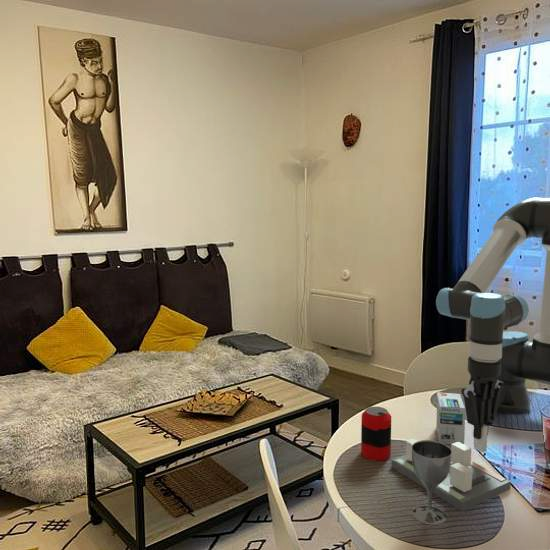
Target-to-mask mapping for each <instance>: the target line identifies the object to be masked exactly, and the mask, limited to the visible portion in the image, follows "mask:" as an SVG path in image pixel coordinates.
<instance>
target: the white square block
mask: <svg viewBox="0 0 550 550" xmlns="http://www.w3.org/2000/svg"><path fill="white" fill-rule="evenodd" d="M450 449H451V452H452V454H451V462H453V463H455V464H456V463H460V464H461V465H463V466H465V467H469V466H471V461H472V447H470V446H468V445H466V444H465V443H464V444H462V443H460V442H456V443H453V444H450Z"/></svg>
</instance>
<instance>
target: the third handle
mask: <svg viewBox="0 0 550 550" xmlns="http://www.w3.org/2000/svg"><path fill="white" fill-rule="evenodd" d="M450 484H451V485H452V486H454V487H456V488H457V489H459V490H461V491H463V492H466V491H468V490H471V488H472V470H471V469H469V468H467V467H465V466H463V465H461V464H460V463H456V464H453V465H451V466H450Z"/></svg>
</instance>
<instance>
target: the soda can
mask: <svg viewBox="0 0 550 550" xmlns="http://www.w3.org/2000/svg"><path fill="white" fill-rule="evenodd" d="M360 426H361V427H360V428H361V431H360V433H361V435H360V436H361V437H360V439H361V440H360V444H361V446H360V452H361V455H362V456H363V458H365V459H366V458H367V460H369V459H370V460H369V461H372V460H375V461H374V462H383V461H386V460H388V459H389V458H390V457H391V454H392V453H391V451H392V449H391V448H392V415H391V413H390V412H389V411H388V409H386V408H385V407H383V406H369V407H366V409H365V410H364V411H363V412H362V413H361V425H360Z"/></svg>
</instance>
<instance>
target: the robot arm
mask: <svg viewBox="0 0 550 550" xmlns="http://www.w3.org/2000/svg"><path fill="white" fill-rule="evenodd" d="M492 227H493V228H492V234H491V235H489V237H488V239H487V241H486V242H485V243H484V245H483V246H482V248H481V249H480V250H479V252H478V254H476V256H475V257H474V259H473V260H472V262H471V263H470V264H469V266H468V267H467V269H466V270H465V271H464V273H463V274H462V276H461V277H460V279H459V280H458V282H457V283H456V284H455V286H454V287H453V288H451V287H443V288H441V289H440V290H439V291H438V294H437V296H436V299H435V305H436V306H435V307H436V310H437V311H438V313H439V314H440V315H443V316H447V317H450V318H452V319H453V318H455V319H461V320H467V321H469V337H468V339H469V340H468V341H469V342H468V356H469V357H468V359H467V372H468V373H469V376H470V379H469V380H468V386H467V388H461V395H462V396H463V400H464V406H465V408H466V410H465V417H466V422H467V423H468V424H469V425H471V426H473V430H472V431H473V432H472V434H473V435H472V436H473V449H475V450H476V451H478V452H480V453H485V452H487V447H488V446H487V445H488V436H489V427H492V426H493V425H494V421H496V419H497V418H496V417H497V413H498V414H499V413H500V414H505V415H520V414H524V413H528V412H529V411H530V410H531V399H530V396H529V392H528V389H527V385H526V380H530V381H532V382H533V381H534V382H537V383H541V384H545V385H549V386H550V197H530V198H527V199H524V200H522V201H520V202H518V203H516V204H515V205H513V206H511V207H510V208H508V209H507V210H506V211H504V213H502V214H501V216H499V218H498V219H497V220H496V222H495V223H494V225H493V226H492ZM529 238H539V239H540V238H541V246H542V248H544V249H545V251H546V253H545V254H546V257H545V266H544V277H543V288H542V300H541V307H540V308H541V310H540V311H541V312H540V319H539V320H540V321H539V331H538V332H537V333H536V334H535V335H534V336H533V337H532V340H530V337H529V334H528V333H526V332H522V331H504V330H505V329H508V328H511V327H514V326H518V325H520V323H522V322H524V321H525V320H526V319H527V317H528V316H529V312H530V309H529V305H528V303H527V301H526V300H525V298H523V297H522V296H520V295H519V294H506V295H501V294H499V293H495V292H494V293H493V292H488V291H487V290H488V289H489V288H490V286H491V285H492V283H493V282H494V280H495V279H496V278H497V276H498V274H499V273H500V272H501V271H502V269H503V267H504V266H505V264H506V262H508V260H509V258H510V257H511V256H512V253H513V252H514V251H515V249H516V248H517V247H518V246H521V245H523V243H524V242H525V241H526V239H529ZM492 421H493V422H492Z"/></svg>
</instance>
